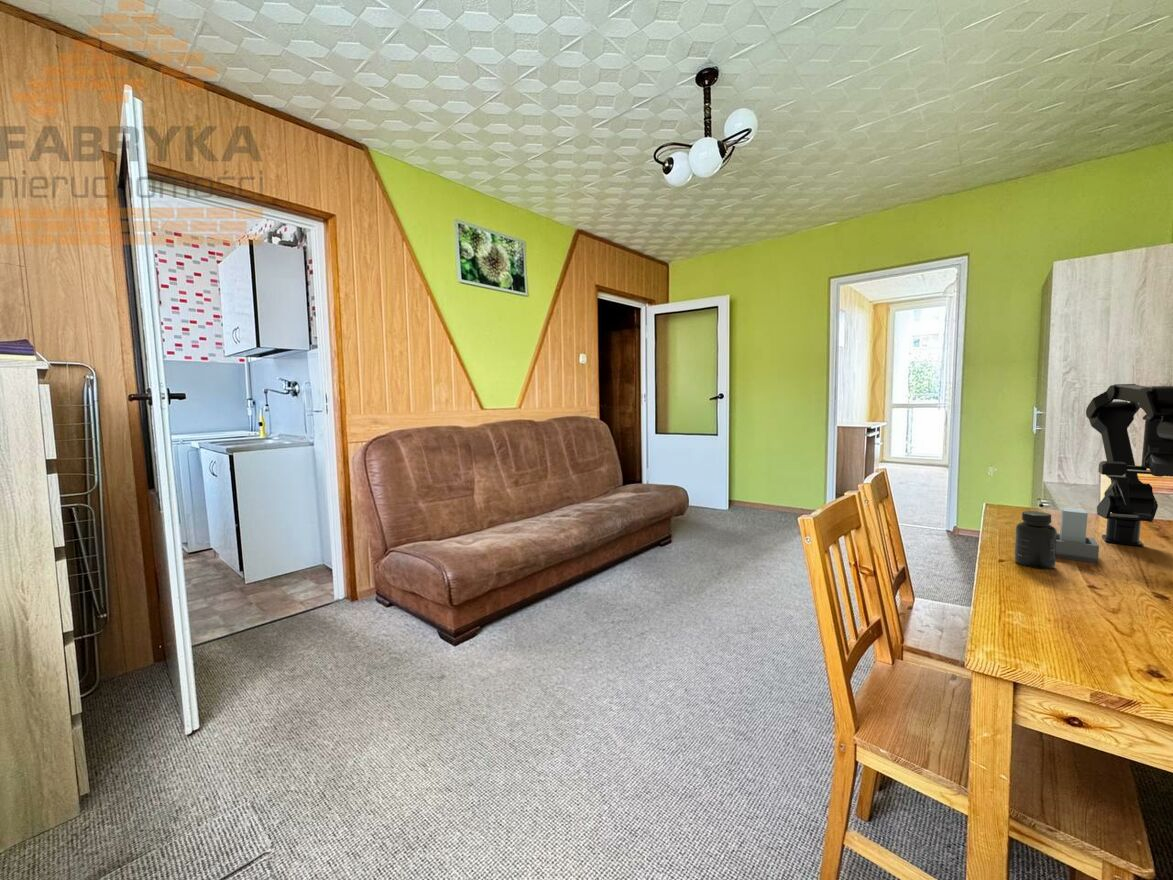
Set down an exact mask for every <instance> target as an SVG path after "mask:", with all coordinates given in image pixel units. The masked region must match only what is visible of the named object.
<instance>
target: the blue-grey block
mask: <svg viewBox="0 0 1173 880" xmlns="http://www.w3.org/2000/svg"><path fill="white" fill-rule="evenodd" d="M1087 526H1088V512H1087V510H1086V509H1082V508H1081V509H1079V508H1071V507H1069V508H1067V507H1061V511H1060V527H1059V534H1060V538H1059V540H1062V541H1069V542H1077V543H1085V541H1086V537H1087Z"/></svg>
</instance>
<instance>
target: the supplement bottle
mask: <svg viewBox="0 0 1173 880" xmlns="http://www.w3.org/2000/svg"><path fill="white" fill-rule="evenodd" d="M1021 520H1022V522H1019V523H1018V524H1016V526H1015V537H1014V538H1015V542H1014V544H1015V545H1014V561H1015V562H1016V563H1017V564H1018V565H1022V566H1025V567H1029V568H1034V569H1039V570H1040V569H1042V570H1047V569H1048V570H1049V569H1053V568H1055V566H1056V558H1057V557H1056V540H1057V532H1058V531H1057V529H1056V528H1055V527H1054V526H1053V525H1051V524H1052V514H1051V513H1049V512H1044V511H1043V512H1042V511H1035V510H1023V511H1022V514H1021Z"/></svg>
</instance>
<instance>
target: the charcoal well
mask: <svg viewBox="0 0 1173 880" xmlns="http://www.w3.org/2000/svg"><path fill="white" fill-rule="evenodd" d="M1059 538H1060V533H1057V540H1056V558H1058V559H1065V560H1072V561H1079V562H1088V563H1091V564H1092V563H1093V564H1099V554H1100V553H1099V551H1100V546H1099V544H1098V542H1097V541H1096V539H1095V538H1094V537H1089V536H1086V541H1085V543H1077V542H1069V541H1062V540H1059Z"/></svg>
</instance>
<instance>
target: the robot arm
mask: <svg viewBox="0 0 1173 880" xmlns="http://www.w3.org/2000/svg"><path fill="white" fill-rule="evenodd" d="M1115 400H1117V401H1115ZM1119 400H1120V401H1119ZM1140 409H1142V410H1143V411H1144V413H1145V414H1144V415H1143V416H1142V420H1144V430H1143V431H1144V433H1143V442H1142V444H1143V445H1142V455H1141V463H1140V464H1141V465H1136V462H1135V457H1134V454H1133V449H1132V445H1131V440H1130V436H1129V431H1128V428H1129V427H1130V425H1132V423H1133V422H1134V420H1135V415H1136V414H1137V413H1138V411H1139V410H1140ZM1085 416H1086V418H1087V419H1088V420H1089V423H1090V427H1092V428H1093V429H1095V430H1096V432H1098V433H1099V434H1101V439H1102V445H1103V448H1104V453H1105V460H1102V461H1100V462H1099V463H1098V473H1100V475H1103V476H1106V477H1107V478H1108V479H1110V484H1109V486H1108V487H1107V489H1106V490H1105V492H1104V493H1103V494H1104V496H1103V498H1102V499H1101V501H1100V502H1099V504H1098V505H1097V506H1096V515H1098V517H1101V518H1103V519H1105V520H1106V528H1105V529H1106V531H1105V534H1101V537H1102V539H1103V540H1104V542H1105V543H1110V544H1111V543H1112V544H1121V545H1129V546H1134V547H1145V544H1144V543H1143V542H1142V541H1141V540H1140V536H1141V525H1142V524H1141V523H1142V522H1149V523H1153V521H1154V519H1155V515H1156V513H1157V512H1158V511H1157V510H1158V508H1159V504H1158V501H1157V500H1156V497H1155V495H1154V491H1153V486H1152V485H1151V484H1150V483H1146V482H1145V483H1144V482H1142V481H1141V480H1140V479H1139V476H1138V475H1139V474H1141V475H1152V476H1154V477H1160V478H1161V477H1170V478H1171V477H1172V478H1173V385H1155V386H1154V385H1150V386H1148V385H1146V386H1145V385H1140V384H1136V383H1117V384H1116V383H1115V384H1113V385H1109V386H1108V388H1107V389H1106V391H1104V392H1102V393H1100V394H1098V395H1096V396H1095V397H1093V398H1092V399H1091V400H1090V402H1089V404H1087V407H1086V409H1085Z"/></svg>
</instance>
